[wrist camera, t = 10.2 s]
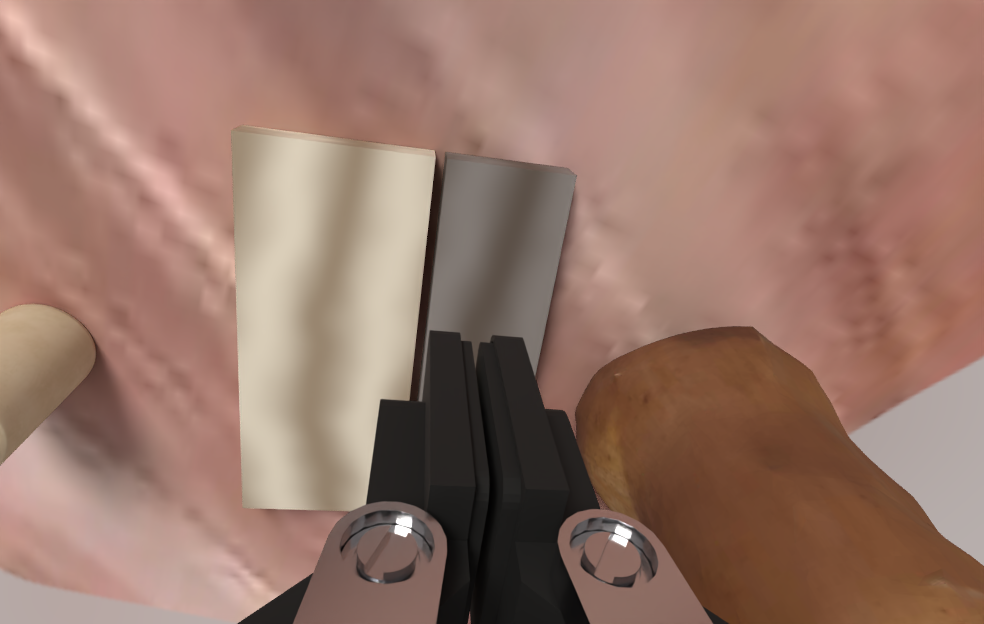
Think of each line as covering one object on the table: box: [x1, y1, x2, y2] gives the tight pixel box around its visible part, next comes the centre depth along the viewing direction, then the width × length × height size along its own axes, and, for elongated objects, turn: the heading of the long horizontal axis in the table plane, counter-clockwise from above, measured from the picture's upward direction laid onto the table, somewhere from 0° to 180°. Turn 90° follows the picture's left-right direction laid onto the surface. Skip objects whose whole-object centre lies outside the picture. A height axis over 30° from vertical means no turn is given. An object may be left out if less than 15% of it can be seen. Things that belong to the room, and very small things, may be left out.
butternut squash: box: [575, 326, 984, 624], centre depth 29 cm, size 14×13×25 cm
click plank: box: [231, 125, 436, 511], centre depth 35 cm, size 10×24×2 cm, turn 171°
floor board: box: [417, 152, 577, 401], centre depth 37 cm, size 7×24×2 cm, turn 171°
